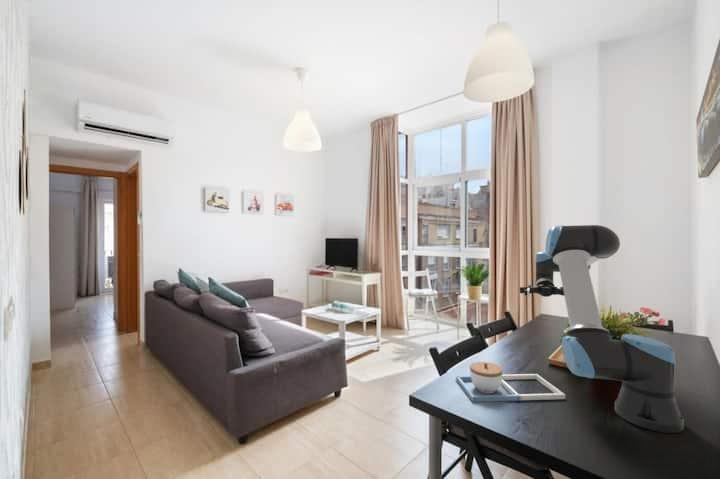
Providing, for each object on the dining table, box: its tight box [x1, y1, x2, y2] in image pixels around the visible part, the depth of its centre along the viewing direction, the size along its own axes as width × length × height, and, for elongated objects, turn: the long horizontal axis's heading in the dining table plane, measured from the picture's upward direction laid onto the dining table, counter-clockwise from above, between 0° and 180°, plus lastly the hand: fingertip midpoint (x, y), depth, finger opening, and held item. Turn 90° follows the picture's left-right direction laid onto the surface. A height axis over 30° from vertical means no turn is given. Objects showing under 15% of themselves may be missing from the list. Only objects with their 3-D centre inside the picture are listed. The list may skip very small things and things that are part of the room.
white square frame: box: [500, 373, 566, 401], centre depth 114 cm, size 16×16×2 cm
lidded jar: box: [469, 361, 503, 395], centre depth 113 cm, size 11×11×9 cm
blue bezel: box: [455, 375, 519, 403], centre depth 113 cm, size 16×16×2 cm
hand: (547, 294), depth 129 cm, fingers open, 13 cm apart
